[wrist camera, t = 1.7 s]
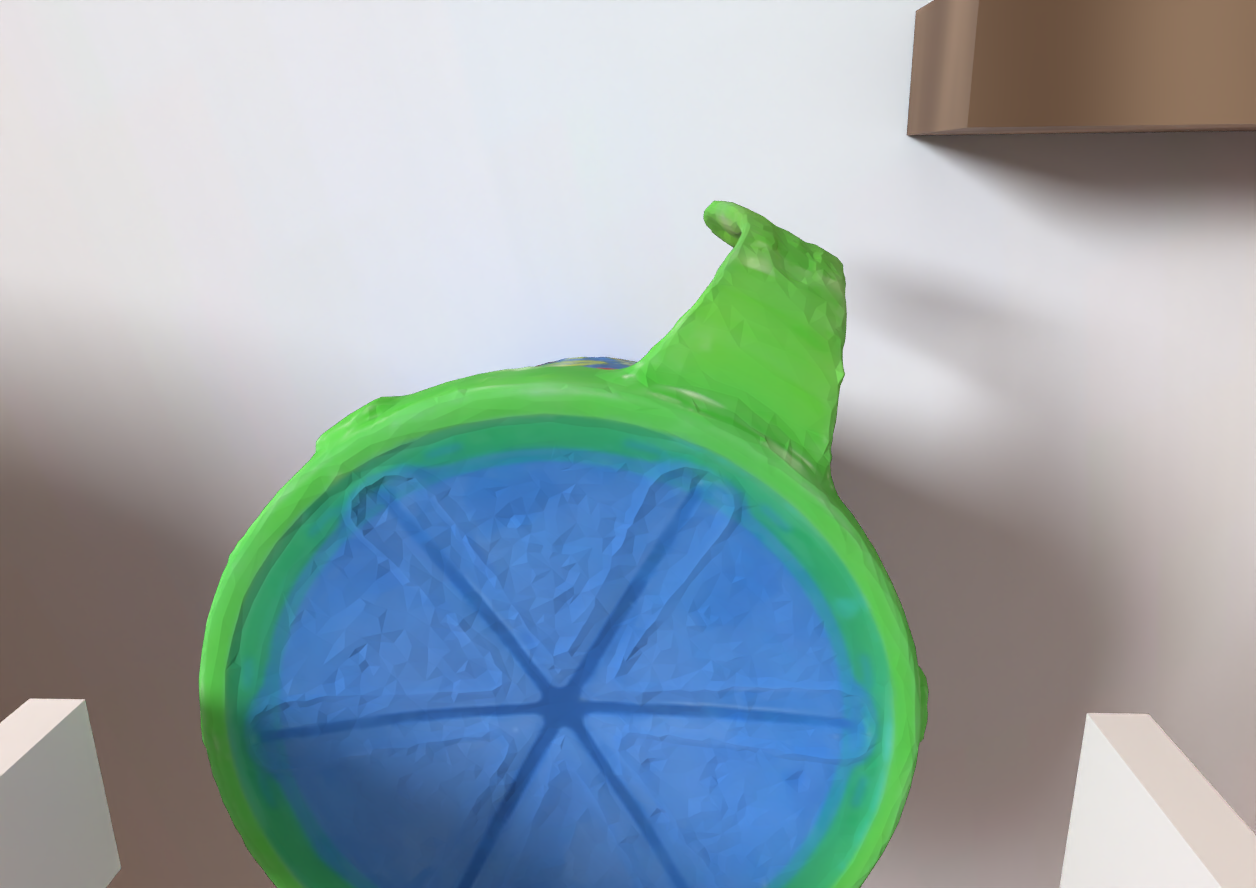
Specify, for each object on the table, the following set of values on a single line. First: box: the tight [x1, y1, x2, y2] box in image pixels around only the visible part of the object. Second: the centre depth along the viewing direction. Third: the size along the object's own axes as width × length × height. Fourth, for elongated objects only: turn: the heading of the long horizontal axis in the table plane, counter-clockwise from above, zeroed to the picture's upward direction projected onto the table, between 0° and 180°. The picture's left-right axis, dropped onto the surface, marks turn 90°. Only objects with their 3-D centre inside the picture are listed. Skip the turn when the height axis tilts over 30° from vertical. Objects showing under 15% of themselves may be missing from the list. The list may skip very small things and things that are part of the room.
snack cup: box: [199, 201, 928, 888], centre depth 18 cm, size 16×10×10 cm
